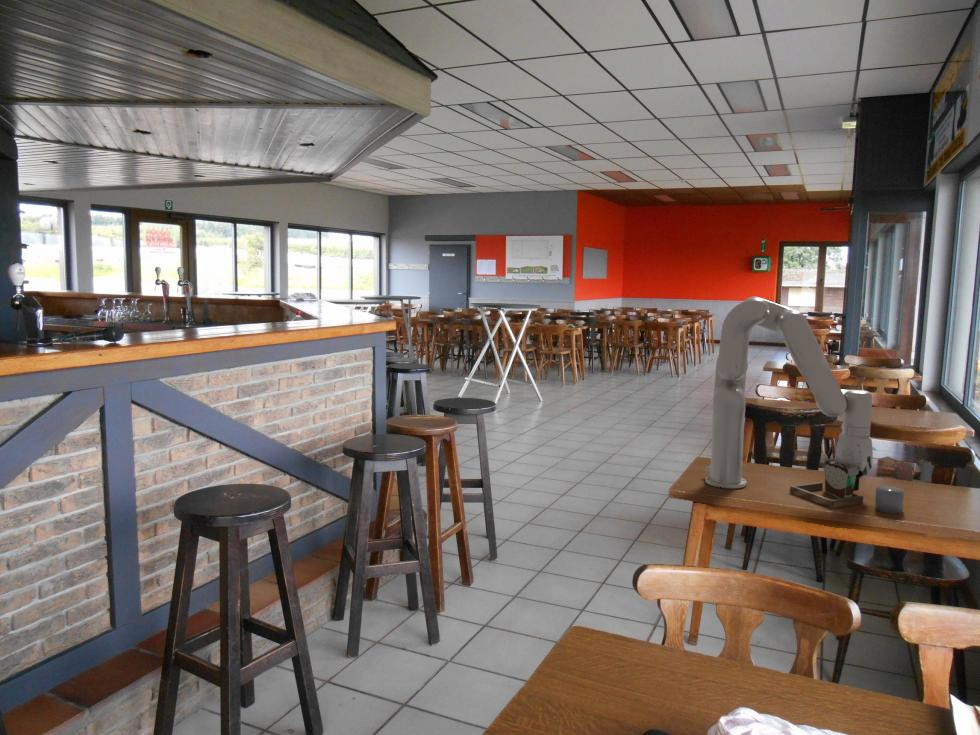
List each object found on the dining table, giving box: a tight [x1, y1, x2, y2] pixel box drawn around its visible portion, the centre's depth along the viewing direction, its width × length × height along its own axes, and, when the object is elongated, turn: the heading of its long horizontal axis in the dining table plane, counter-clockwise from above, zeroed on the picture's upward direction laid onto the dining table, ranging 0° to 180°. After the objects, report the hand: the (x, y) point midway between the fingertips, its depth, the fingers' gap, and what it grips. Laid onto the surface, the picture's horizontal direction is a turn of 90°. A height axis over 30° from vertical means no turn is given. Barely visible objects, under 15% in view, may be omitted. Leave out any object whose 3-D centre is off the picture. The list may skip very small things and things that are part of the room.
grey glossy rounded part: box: [874, 485, 905, 515], centre depth 206 cm, size 7×7×6 cm
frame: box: [789, 481, 864, 509], centre depth 217 cm, size 16×12×2 cm
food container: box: [823, 458, 859, 499], centre depth 219 cm, size 12×6×10 cm, turn 10°
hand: (852, 490), depth 221 cm, fingers closed
